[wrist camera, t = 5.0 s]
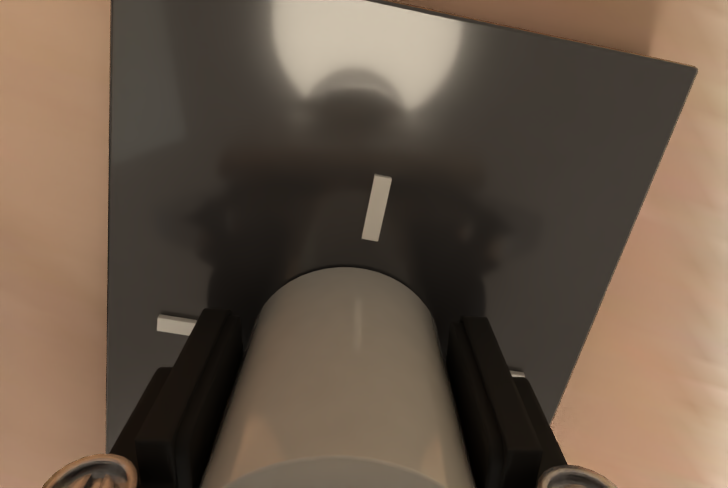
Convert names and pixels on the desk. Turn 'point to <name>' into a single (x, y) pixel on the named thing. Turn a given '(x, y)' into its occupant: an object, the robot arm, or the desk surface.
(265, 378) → the hob knob
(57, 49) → the desk surface
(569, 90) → the hob console
